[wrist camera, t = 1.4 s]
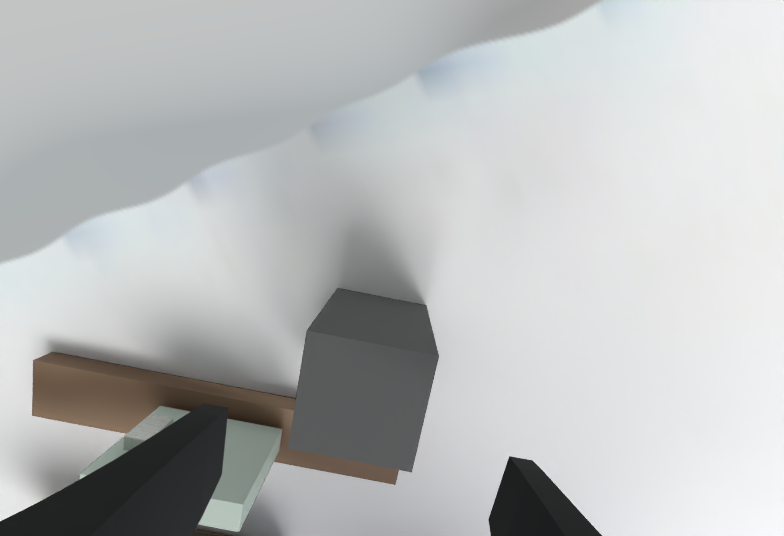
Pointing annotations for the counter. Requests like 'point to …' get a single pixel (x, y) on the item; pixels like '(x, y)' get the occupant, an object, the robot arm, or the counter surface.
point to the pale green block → (240, 464)
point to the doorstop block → (365, 380)
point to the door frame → (153, 389)
